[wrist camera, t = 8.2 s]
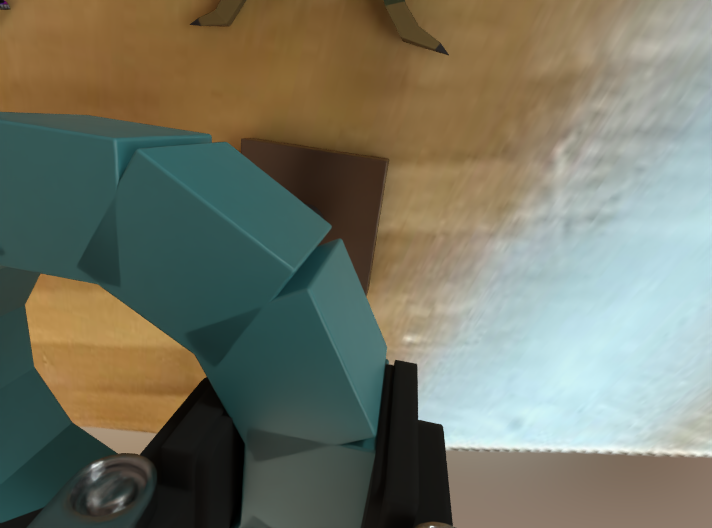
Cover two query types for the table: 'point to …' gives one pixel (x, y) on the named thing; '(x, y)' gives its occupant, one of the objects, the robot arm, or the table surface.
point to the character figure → (4, 5)
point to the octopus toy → (394, 4)
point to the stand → (330, 191)
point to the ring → (190, 308)
